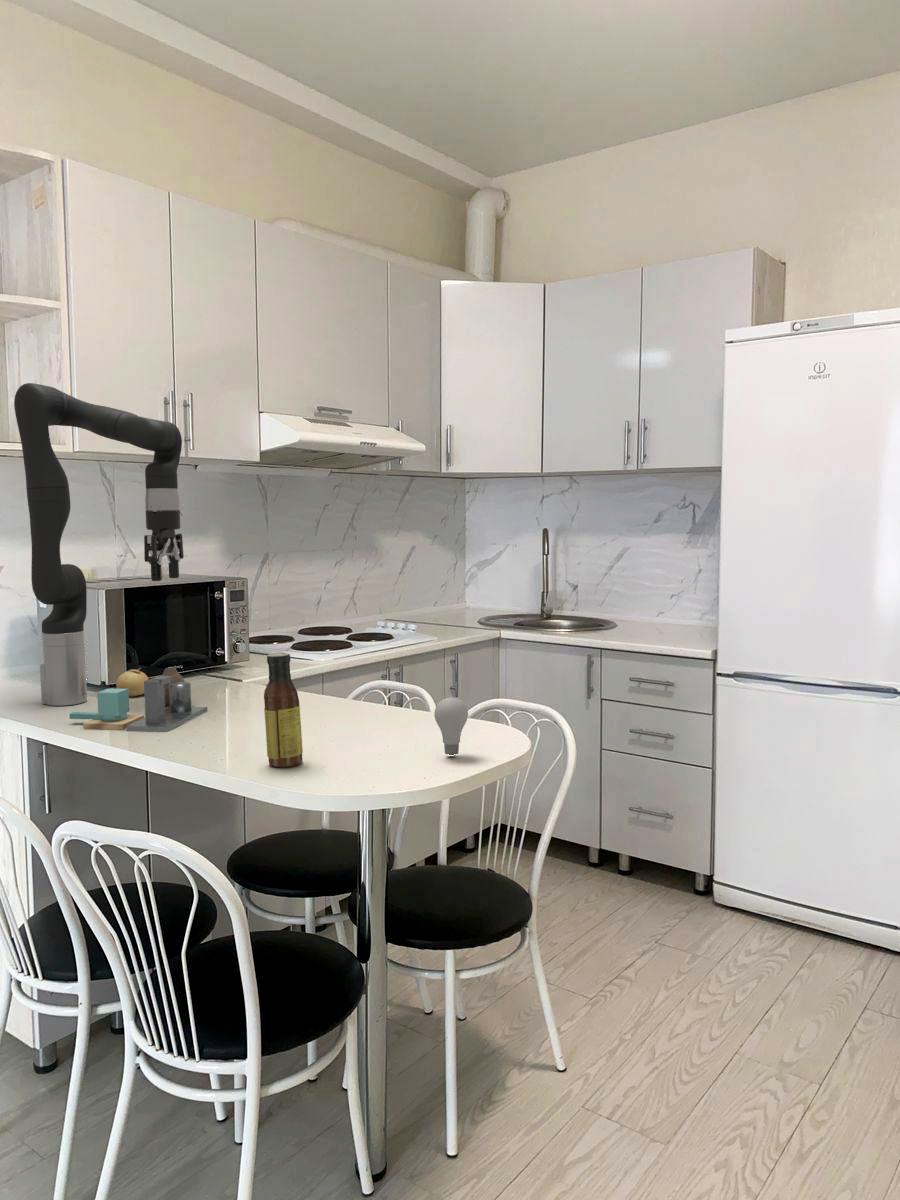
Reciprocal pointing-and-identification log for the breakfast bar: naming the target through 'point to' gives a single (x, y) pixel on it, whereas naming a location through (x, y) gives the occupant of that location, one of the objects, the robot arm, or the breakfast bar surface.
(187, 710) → the post
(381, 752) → the breakfast bar surface
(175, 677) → the vase
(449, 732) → the lightbulb
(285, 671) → the sauce bottle
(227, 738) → the breakfast bar surface
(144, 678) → the onion
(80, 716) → the teal block with handle
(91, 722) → the wooden coaster
